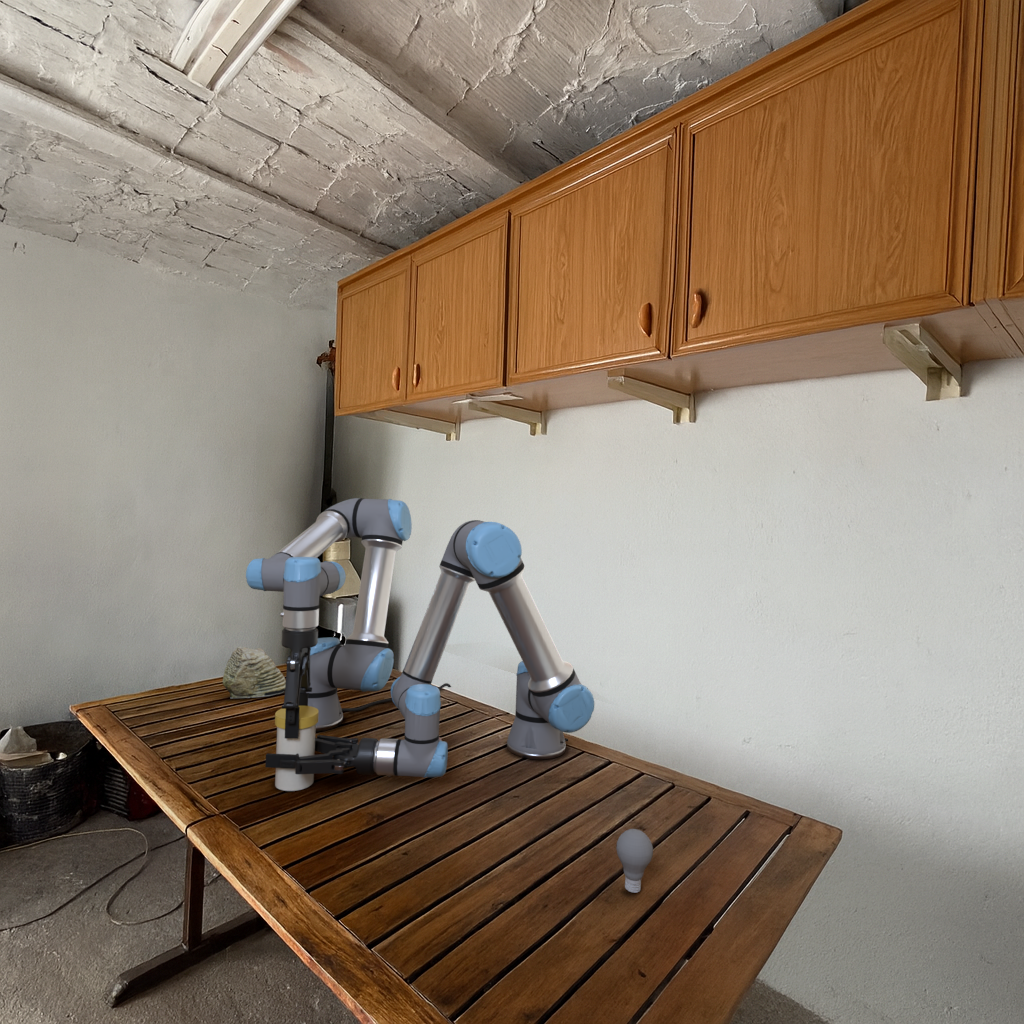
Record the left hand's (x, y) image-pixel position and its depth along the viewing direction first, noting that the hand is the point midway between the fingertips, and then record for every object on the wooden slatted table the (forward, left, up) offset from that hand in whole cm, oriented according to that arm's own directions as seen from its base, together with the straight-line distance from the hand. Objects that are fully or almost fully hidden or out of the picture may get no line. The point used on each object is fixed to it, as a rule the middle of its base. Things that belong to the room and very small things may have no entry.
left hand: (296, 729), depth 140 cm
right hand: (+3, -4, -5) cm, 7 cm away
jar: (0, 0, -12) cm, 12 cm away
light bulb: (-16, +75, -12) cm, 77 cm away
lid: (0, 0, +3) cm, 3 cm away
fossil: (-25, -62, -12) cm, 68 cm away
